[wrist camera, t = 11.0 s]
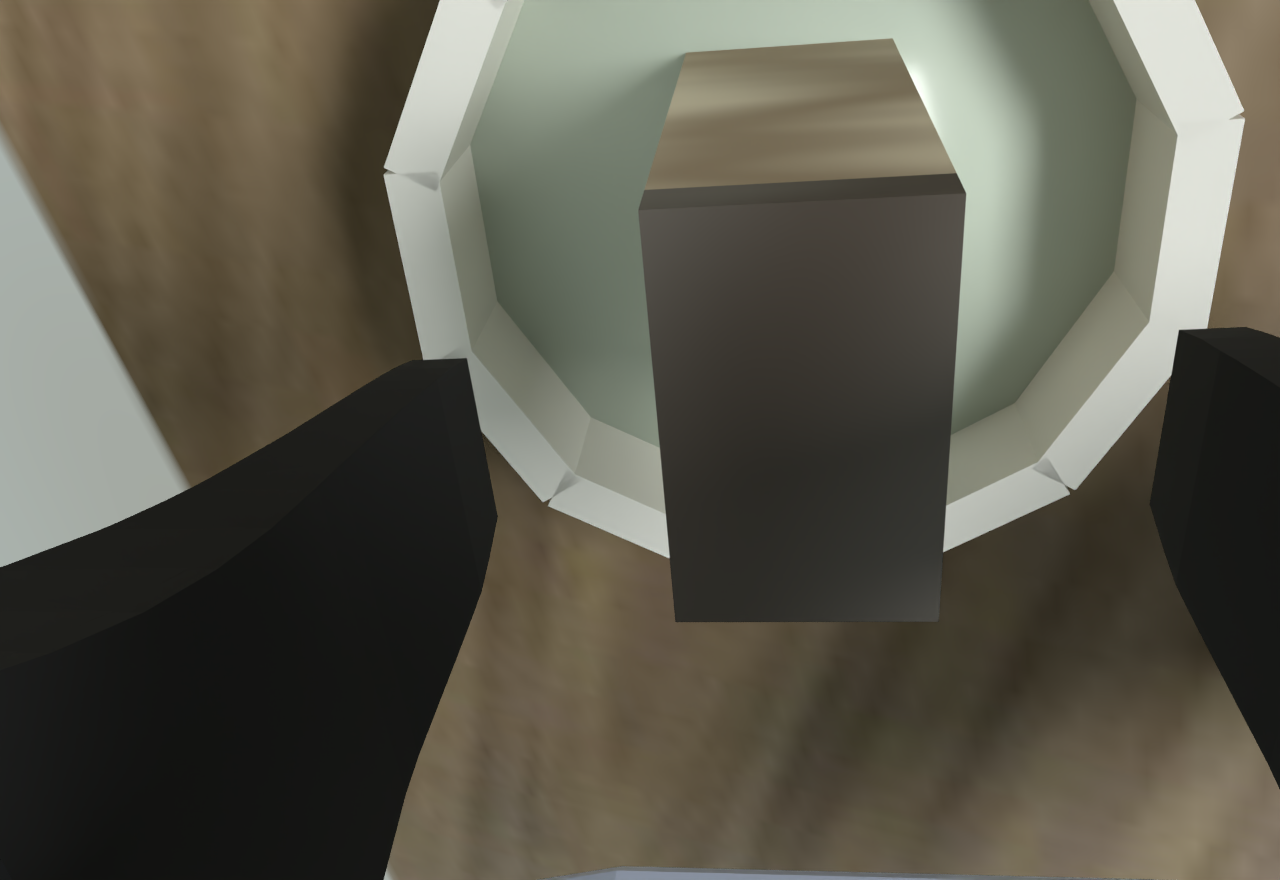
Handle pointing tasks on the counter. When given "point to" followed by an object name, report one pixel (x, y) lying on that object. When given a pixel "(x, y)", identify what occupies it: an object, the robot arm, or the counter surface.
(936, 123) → the dish
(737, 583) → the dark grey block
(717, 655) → the counter surface
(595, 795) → the counter surface
